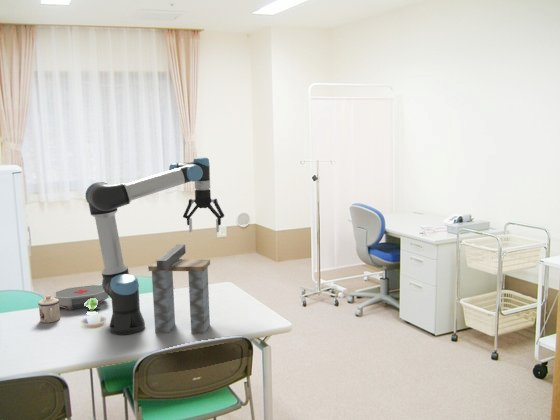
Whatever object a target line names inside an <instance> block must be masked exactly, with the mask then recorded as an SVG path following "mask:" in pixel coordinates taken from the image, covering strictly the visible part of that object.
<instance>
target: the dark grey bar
mask: <svg viewBox="0 0 560 420" xmlns="http://www.w3.org/2000/svg"><path fill="white" fill-rule="evenodd" d="M185 254H186V244H176V245H174V246H173V247H172V248H171V249H170V250H168V251H167V252H166V253H164V254H163V255H162V256H160V257H159V258H158V260H157V259H156V260H157V270H167V269H168V268H170V267H171V266H172V265H173V264H174V263H175V262H176V261H177V260H178V259H182V257H183V256H184V255H185Z"/></svg>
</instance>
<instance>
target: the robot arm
mask: <svg viewBox="0 0 560 420" xmlns="http://www.w3.org/2000/svg"><path fill="white" fill-rule="evenodd" d="M168 169H169V170H167V171H163V172H160V173H157V174H153V175H151V176H148V177H143V178H141V179H138V180H134V181H131V182H128V183H124V182H119V183H115V184H108V183H106V182H105V181H104V182H103V181H98V182H93V183H91V184H90V185H89V186H88V187H87V188H86V191H85V200H86V202H87V204H88V208H89V212H90V215H91V216H92V217H93V218H94V221H95V225H96V229H97V236H98V241H99V245H100V252H101V257H102V262H103V267H104V268H103V270H102V271H101V277H102V280H101V282H102V283H101V284H102V286H103V289H104V291H105V292H106V293H107V294H108V297H110V299H111V304H112V305H111V307H112V316H111V318H110V323H109V332H110V333H111V334H114V335H117V336H118V335H119V336H121V335H123V336H124V335H132V334H133V335H134V334H136V333H139V332H141V331H143V330H144V329H145V327H146V323H145V320H144V317H143V314H142V312H141V307H140V291H139V287H140V284H139V280H138V277H136V276H135V275H132V274H130V273H129V268H128V266H127V265H125V264H124V259H123V253H122V248H121V243H120V237H119V232H118V226H117V221H116V220H117V219H116V213H117V212H118V208H121V207H123V206H127V205H130V204H131V202H132V201H134V200H139V199H140V198H143V197H146V196H150V195H153V194H156V193H158V192H163V191H165V190H169V189H171V188H175V187H178V186H180V185H183V184H187V183H191V182H194V189H195V190H194V199H193V198H189V199H188V204H187V206H186V209H185V211H184V213H183V215H182V217H183V219H186V226H189V227H188V228H189V229H188V230H189V231H188V232H189V233H192V232H193V219H192V218H191V217H192V216H193V215H194V213H195V212H196V211H197V209H198V208H199V209H207V208H208V209H209V211H211V213H212V214H213V215H214V216H215V217H216V219H215V222H216V224H215V225H216V226H215V227H216V230H215V231H216V233H219V232H220V226H221V224H222V218H224V217H225V214H224V212H223V210H222V208H221V206H220V204H219V202H218V198H211V194H212V193H211V177H210V175H211V173H210V171H211V170H210V169H211V168H210V159H209V158H208V157H206V156H204V157H202V156H201V157H194V158H193V161H192V162H191V161H190V162H174V163H171V164H170V165H169V168H168ZM194 203H195V205H194V208H193V209H192V210H191V207H192V206H193V204H194ZM212 204H214V206H215V208H216V209H215V208H214V207H213V205H212ZM190 210H191V211H190Z"/></svg>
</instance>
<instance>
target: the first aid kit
mask: <svg viewBox="0 0 560 420" xmlns="http://www.w3.org/2000/svg"><path fill="white" fill-rule="evenodd" d="M54 298H57V299H58V300H59V308H62V309H66V310H68V309H72V310H77V309H81V308H83V307H84V303H85V302H86V301H87V300H88V299H90V298H96V299H97V300H98V305H100V304H101V303H102V302H104V301H106V300H107V299H108V298H109V295H108V294H107V293H106V292H105V291H104V289H103V286H102V285H99V284H89V285H83V286H82V285H81V286H73V287H67V288H63V289H60V290H57V291H54ZM76 308H77V309H76ZM84 308H85V307H84Z"/></svg>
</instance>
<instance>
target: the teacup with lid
mask: <svg viewBox="0 0 560 420" xmlns="http://www.w3.org/2000/svg"><path fill="white" fill-rule="evenodd" d="M37 303H38V309H39V310H38V311H39V321H40V322H41V323H43V324H48V323H49V322H51V323H54V322H58V321H59V320H60V318H61V312H60V306H59V300H58V299H57V298H55V297H51V295H49V294H48V295H46V296H45V298H43V299H41V300H39V301H38V302H37ZM49 324H50V323H49Z"/></svg>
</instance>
